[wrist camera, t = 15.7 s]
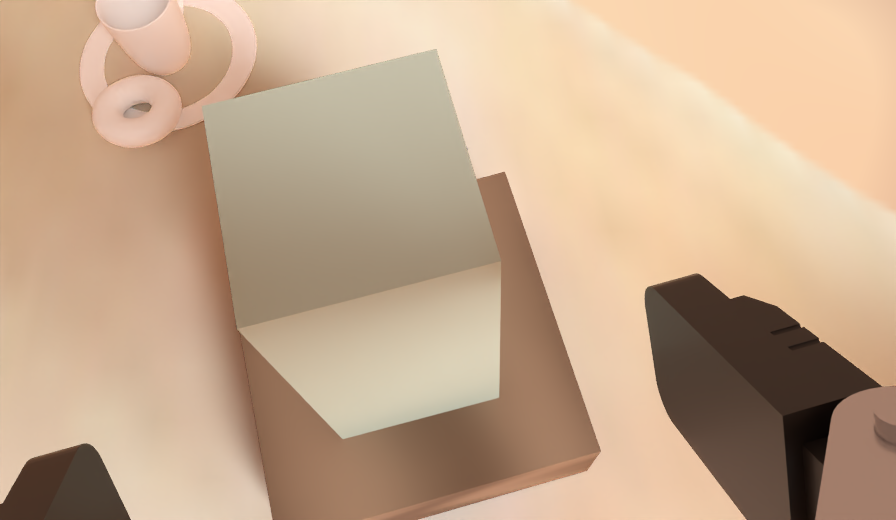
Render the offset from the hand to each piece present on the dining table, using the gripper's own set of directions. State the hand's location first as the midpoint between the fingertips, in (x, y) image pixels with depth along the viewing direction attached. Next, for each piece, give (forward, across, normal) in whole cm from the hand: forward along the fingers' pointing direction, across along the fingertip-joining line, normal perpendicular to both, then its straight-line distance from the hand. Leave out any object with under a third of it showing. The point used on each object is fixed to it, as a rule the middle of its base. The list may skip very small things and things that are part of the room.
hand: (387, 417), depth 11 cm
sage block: (+13, 0, +6) cm, 14 cm away
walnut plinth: (+16, 0, +8) cm, 18 cm away
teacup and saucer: (+29, +10, -3) cm, 30 cm away
